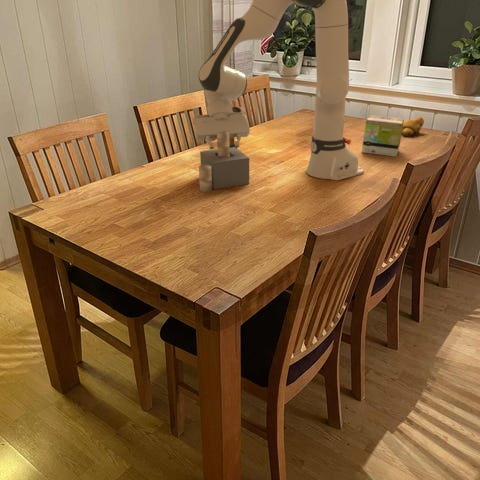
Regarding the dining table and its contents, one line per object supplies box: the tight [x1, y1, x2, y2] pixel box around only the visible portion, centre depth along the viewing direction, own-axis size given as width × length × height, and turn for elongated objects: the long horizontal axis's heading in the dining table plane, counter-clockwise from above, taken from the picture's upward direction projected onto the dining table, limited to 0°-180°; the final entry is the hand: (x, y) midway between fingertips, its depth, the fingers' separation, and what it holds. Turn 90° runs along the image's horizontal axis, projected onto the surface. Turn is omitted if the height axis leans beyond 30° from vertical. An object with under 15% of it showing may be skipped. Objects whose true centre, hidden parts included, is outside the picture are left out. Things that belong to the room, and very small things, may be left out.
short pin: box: [198, 164, 213, 194], centre depth 166 cm, size 4×4×9 cm
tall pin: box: [216, 131, 230, 158], centre depth 173 cm, size 4×4×18 cm
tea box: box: [361, 114, 405, 158], centre depth 204 cm, size 15×10×15 cm
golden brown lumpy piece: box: [401, 116, 425, 137], centre depth 231 cm, size 13×10×8 cm
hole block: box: [199, 147, 250, 190], centre depth 175 cm, size 14×14×10 cm
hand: (224, 147), depth 171 cm, fingers open, 8 cm apart
